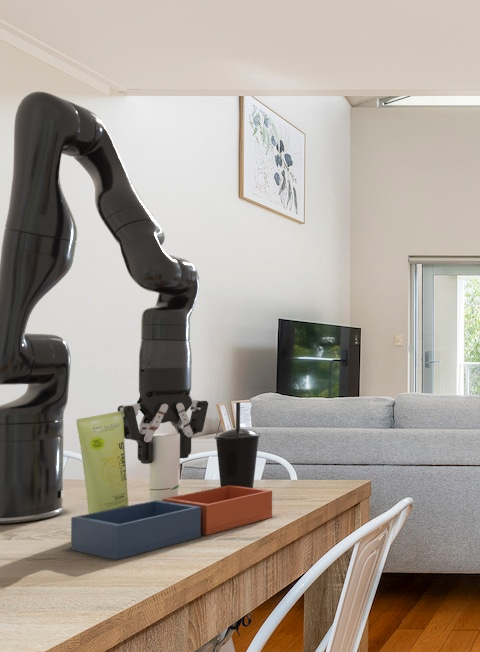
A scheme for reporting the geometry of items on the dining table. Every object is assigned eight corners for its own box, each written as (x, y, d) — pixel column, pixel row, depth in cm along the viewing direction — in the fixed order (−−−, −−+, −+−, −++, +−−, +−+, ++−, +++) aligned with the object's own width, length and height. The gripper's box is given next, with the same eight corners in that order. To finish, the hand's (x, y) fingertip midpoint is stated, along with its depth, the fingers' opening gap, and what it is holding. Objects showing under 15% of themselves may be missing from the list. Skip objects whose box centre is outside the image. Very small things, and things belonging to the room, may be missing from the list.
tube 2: (155, 523, 100) (156, 436, 100) (144, 519, 102) (145, 435, 102) (183, 517, 103) (184, 434, 103) (172, 514, 105) (173, 432, 106)
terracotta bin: (162, 527, 97) (162, 498, 98) (229, 510, 108) (229, 485, 108) (206, 535, 93) (206, 505, 93) (272, 517, 104) (272, 490, 104)
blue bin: (70, 549, 86) (71, 517, 86) (156, 528, 97) (156, 500, 97) (116, 560, 81) (116, 526, 81) (200, 536, 92) (201, 506, 92)
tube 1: (127, 534, 93) (118, 414, 92) (86, 541, 90) (75, 418, 89) (132, 524, 98) (123, 410, 97) (93, 531, 95) (83, 413, 94)
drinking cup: (267, 502, 114) (268, 402, 114) (225, 511, 107) (226, 404, 108) (247, 498, 118) (248, 400, 118) (206, 505, 112) (207, 403, 112)
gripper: (194, 365, 111) (193, 453, 111) (106, 366, 98) (105, 466, 98) (219, 365, 108) (219, 455, 108) (132, 366, 95) (131, 469, 95)
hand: (165, 460), depth 103 cm, fingers open, 5 cm apart
